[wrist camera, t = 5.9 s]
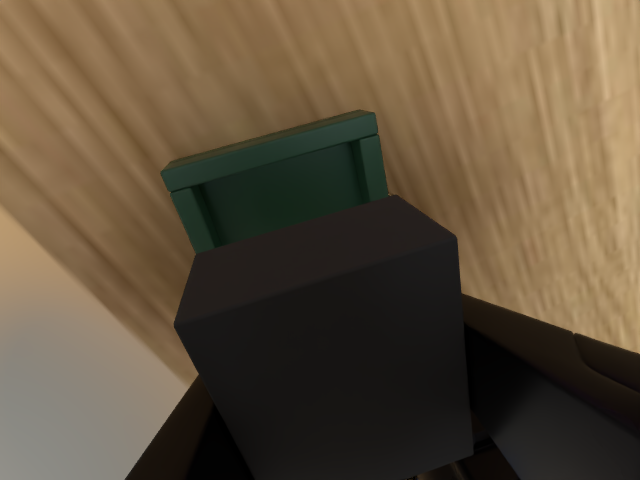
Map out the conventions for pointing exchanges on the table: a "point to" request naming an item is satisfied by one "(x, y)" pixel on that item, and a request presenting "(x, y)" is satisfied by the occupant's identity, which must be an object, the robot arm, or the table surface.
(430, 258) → the charcoal pad
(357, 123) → the frame
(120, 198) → the table surface
